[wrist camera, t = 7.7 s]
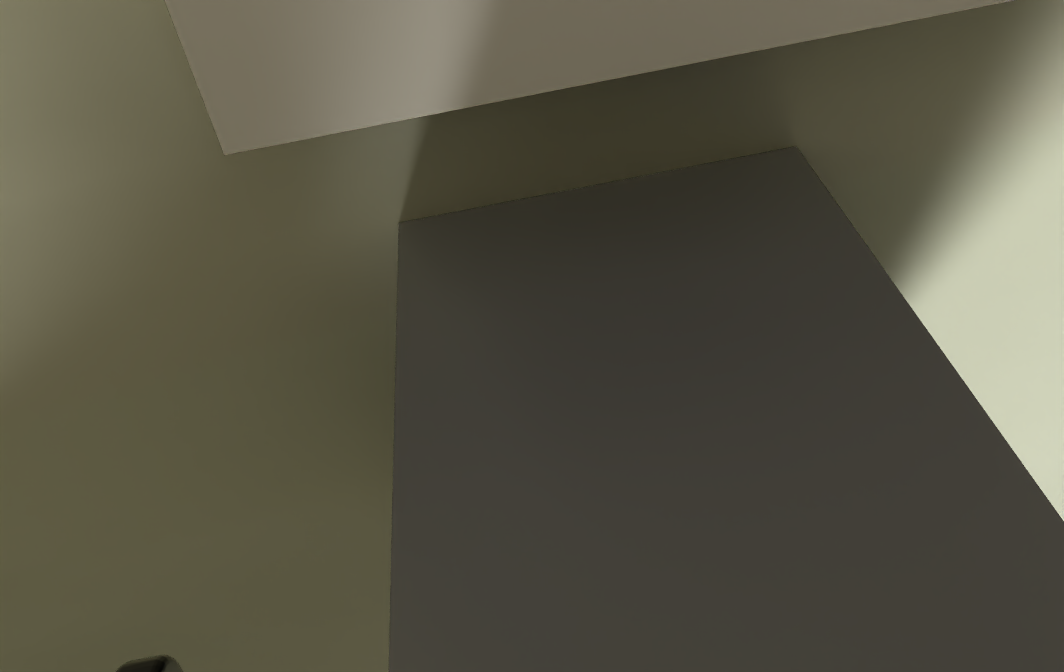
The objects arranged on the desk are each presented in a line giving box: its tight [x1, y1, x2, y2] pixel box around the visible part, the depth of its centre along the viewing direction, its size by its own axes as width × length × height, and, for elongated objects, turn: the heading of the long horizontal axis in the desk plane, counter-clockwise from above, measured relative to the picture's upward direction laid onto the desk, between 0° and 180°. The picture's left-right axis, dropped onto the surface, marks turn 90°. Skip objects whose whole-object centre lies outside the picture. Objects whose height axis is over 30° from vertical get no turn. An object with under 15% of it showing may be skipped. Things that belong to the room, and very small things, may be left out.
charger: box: [389, 146, 1064, 672], centre depth 9 cm, size 4×4×7 cm
